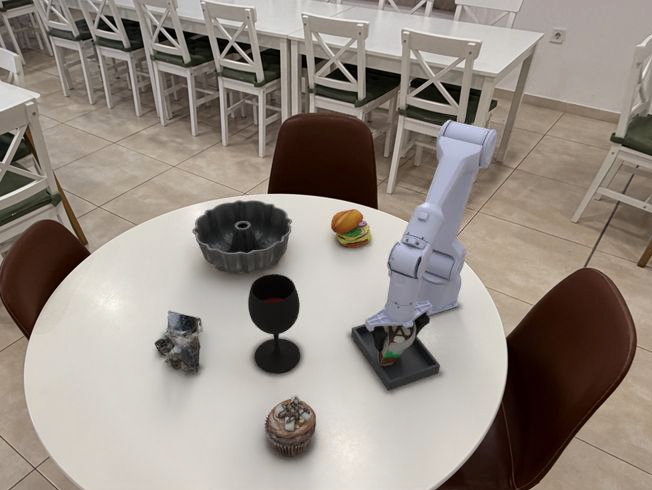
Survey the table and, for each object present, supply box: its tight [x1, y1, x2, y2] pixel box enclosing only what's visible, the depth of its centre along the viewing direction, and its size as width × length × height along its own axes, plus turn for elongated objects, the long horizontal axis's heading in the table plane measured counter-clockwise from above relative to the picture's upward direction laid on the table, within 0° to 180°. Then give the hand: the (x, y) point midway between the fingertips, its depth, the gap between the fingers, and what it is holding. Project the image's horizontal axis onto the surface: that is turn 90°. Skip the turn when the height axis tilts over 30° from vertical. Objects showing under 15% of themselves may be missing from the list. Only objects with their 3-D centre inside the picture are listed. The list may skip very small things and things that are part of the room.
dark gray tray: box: [350, 323, 441, 392], centre depth 110 cm, size 12×17×3 cm
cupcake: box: [263, 394, 317, 458], centre depth 92 cm, size 10×10×10 cm
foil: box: [154, 310, 204, 374], centre depth 111 cm, size 12×11×15 cm
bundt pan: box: [192, 199, 293, 276], centre depth 135 cm, size 26×26×10 cm
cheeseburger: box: [330, 208, 372, 248], centre depth 140 cm, size 10×11×10 cm
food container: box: [377, 302, 416, 368], centre depth 106 cm, size 12×6×10 cm, turn 176°
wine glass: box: [247, 273, 301, 375], centre depth 104 cm, size 10×10×20 cm
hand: (394, 343), depth 108 cm, fingers open, 7 cm apart
